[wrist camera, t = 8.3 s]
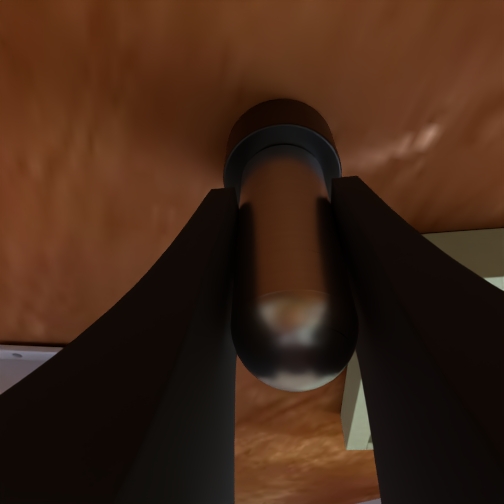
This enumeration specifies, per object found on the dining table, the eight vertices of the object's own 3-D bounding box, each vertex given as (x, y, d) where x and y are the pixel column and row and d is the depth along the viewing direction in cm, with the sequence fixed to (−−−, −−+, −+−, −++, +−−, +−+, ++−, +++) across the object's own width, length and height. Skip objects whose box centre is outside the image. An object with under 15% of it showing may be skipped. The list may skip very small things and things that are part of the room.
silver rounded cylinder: (227, 193, 13) (198, 420, 7) (227, 94, 10) (183, 319, 4) (321, 198, 13) (371, 427, 7) (343, 102, 10) (449, 331, 5)
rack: (340, 414, 27) (345, 450, 25) (365, 237, 14) (380, 284, 12) (435, 412, 26) (448, 448, 24) (553, 223, 13) (598, 270, 12)
